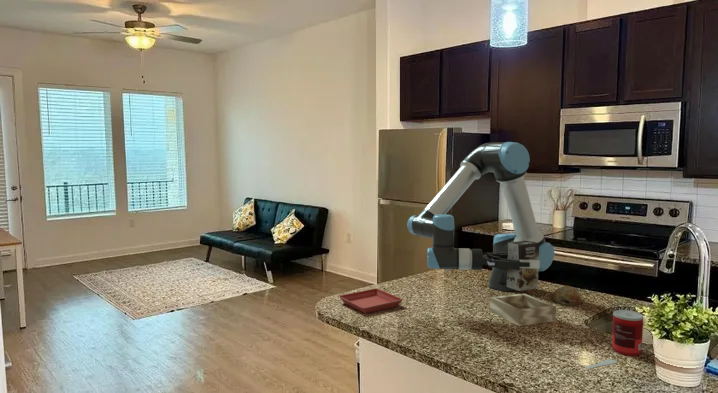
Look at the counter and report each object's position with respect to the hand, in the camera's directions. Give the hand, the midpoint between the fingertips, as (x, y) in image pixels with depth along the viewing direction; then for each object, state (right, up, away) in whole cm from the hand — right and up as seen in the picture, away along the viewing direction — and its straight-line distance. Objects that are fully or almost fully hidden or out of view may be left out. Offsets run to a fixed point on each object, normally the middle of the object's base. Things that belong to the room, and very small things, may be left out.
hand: (535, 261), depth 172 cm
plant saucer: (-57, -19, +16) cm, 63 cm away
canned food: (+16, -23, -29) cm, 40 cm away
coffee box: (-4, -10, +1) cm, 11 cm away
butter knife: (-2, -24, -41) cm, 47 cm away
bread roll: (+19, -18, +19) cm, 33 cm away
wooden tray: (-4, -20, +2) cm, 20 cm away
